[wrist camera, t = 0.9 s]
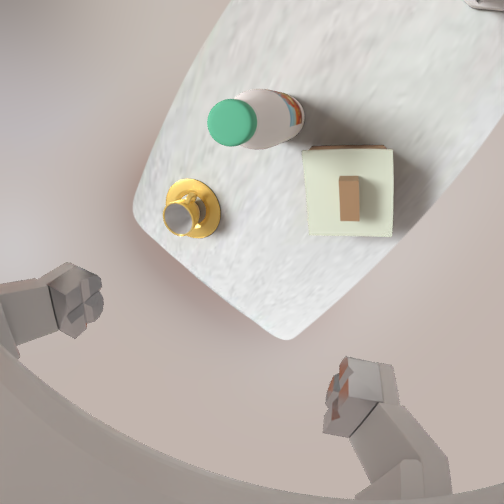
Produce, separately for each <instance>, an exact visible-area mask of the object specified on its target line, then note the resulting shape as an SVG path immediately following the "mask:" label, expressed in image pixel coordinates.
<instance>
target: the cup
mask: <svg viewBox="0 0 504 504" xmlns="http://www.w3.org/2000/svg"><path fill="white" fill-rule="evenodd" d="M187 194H188V195H187ZM185 195H187V197H186V199H181V198H182V197H183V196H185ZM197 196H198V197H199V198H200V199H201V200H202V201H203V203H204V205H205V207H206V215H205V218H204V219H203V221H201V222H200V223H198V221H199V217H200V209H199V206H198V205H197V204H196V203H195V201H196V198H197ZM163 220H164V223H165V225H166V227H167V228H168V229H169V231H171V232H172V233H173V234H175V235H178V236H186V235H187V236H189V237H192V238H204V237H207V236H209V235H211V234H212V233H213V232H214V231H215V230H216V228H217V227H218V224H219V221H220V206H219V203H218V200H217V198H216V196H215V195H214V193H213V192H212V191H211V189H210V188H209V187H207V186H206V185H205V184H203V183H202V182H200V181H197V180H194V179H182V180H179V181H177V182H176V183H174V184H173V185H172V186H171V188H170V189H169V191H168V193H167V197H166V207H165V208H164V211H163Z"/></svg>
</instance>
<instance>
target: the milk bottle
mask: <svg viewBox="0 0 504 504" xmlns="http://www.w3.org/2000/svg"><path fill="white" fill-rule="evenodd" d="M303 124H304V111H303V108H302V106H301V104H300V103H299V102H298V101H297V100H296V99H295V98H294V97H292V96H290V95H288V94H285V93H281V92H277V91H272V90H267V89H252V90H248V91H245V92H242V93H241V94H239V95H237V96H236V97H235V98H234V99H226V100H223V101H221V102H219V103H217V104H216V105H215V106H214V107H213V108H212V109H211V111H210V113H209V116H208V121H207V125H208V130H209V132H210V134H211V136H212V137H213V139H214V140H215V141H217V142H218V143H220V144H222V145H225V146H238V145H241V146H243V147H245V148H249V149H255V150H259V149H267V148H270V147H273V146H276V145H278V144H281V143H283V142H285V141H287V140H289V139H291V138H293V137H294V136H296V135H297V134H298V133H299V132H300V130H301V129H302V127H303Z"/></svg>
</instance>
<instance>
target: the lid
mask: <svg viewBox="0 0 504 504" xmlns="http://www.w3.org/2000/svg"><path fill="white" fill-rule="evenodd" d="M302 160H303V170H304V180H305V191H306V202H307V214H308V228H309V235H316V236H373V237H392V227H393V194H394V176H393V150H392V149H323V150H303V151H302Z"/></svg>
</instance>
